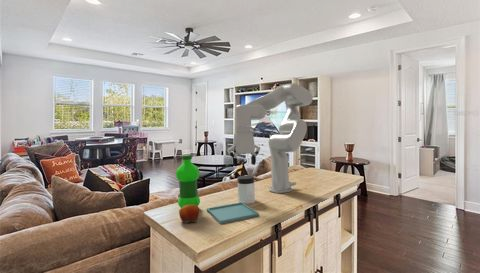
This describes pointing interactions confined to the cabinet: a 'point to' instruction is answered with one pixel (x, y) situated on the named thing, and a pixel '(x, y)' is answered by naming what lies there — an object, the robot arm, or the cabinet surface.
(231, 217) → the tray
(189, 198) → the plastic bottle
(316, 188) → the cabinet surface
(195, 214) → the fruit
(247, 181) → the jar
